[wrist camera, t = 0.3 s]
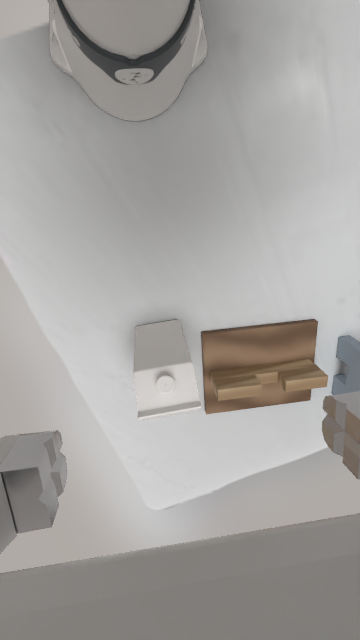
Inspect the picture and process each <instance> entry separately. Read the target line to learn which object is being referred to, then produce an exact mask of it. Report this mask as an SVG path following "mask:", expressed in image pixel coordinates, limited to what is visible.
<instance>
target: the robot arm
mask: <svg viewBox="0 0 360 640" xmlns="http://www.w3.org/2000/svg"><path fill="white" fill-rule="evenodd" d="M48 2H49V26H50V54H51V57H52V59H53V62H54V63H55V64H56V65H57V66H58V67H59V68H60V69H61V70H62V71H64V72H65V73H67V74H68V75H70V76H71V77H73V78H75V80H76V81H77V82H78V83H79V84H80V85H81V87H82V88H83V89H84V91H85V92H86V94H87V95H88V96H89V97H90V99H91V100H92V101H93V102H94V103H95V104H96V105H97V106H99V107H100V108H101V109H102V110H104V111H105V112H107V113H108V114H110V115H112V116H114V117H117V118H120V119H123V120H128V121H142V120H147V119H151V118H153V117H155V116H157V115H159V114H161V113H162V112H164V111H165V110H166V109H168V108H169V107H170V106H171V105H172V103H173V102H174V101H175V100H176V98H177V97H178V95H179V94H180V92H181V90H182V88H183V86H184V84H185V81H186V79H187V78H188V76H189V75H190V73H192V72H193V71H194V70H195V69H196V68H197V67H198V66H199V65H200V64H201V63H202V62H203V61H204V59H205V58H206V55H207V49H208V47H207V40H206V35H205V29H204V24H203V19H202V13H201V8H200V3H199V0H48ZM323 410H324V411H325V412H326V413H327V415H326V417H325V418H324V420H323V421H322V432H323V436H324V440H325V442H326V443H327V445H328V447H329V448H330V449H331V450H332V451H333V452H334V453H336V454H338V455H340V456H342V457H343V464H344V465H345V466H346V467H347V468H348V469H349V470H350V471H351V472H352V474H353V475H354V476H355V477H356V478H357V479H360V391H357V392H351V393H344V394H338V395H331V396H325V399H324V401H323ZM61 446H62V438H61V434H60V432H59V431H57V430H56V431H46V432H37V433H28V434H18V435H11V436H5V437H2V438H0V554H1V552H2V551H3V550H4V549H5V548H6V547H7V546H8V545H9V544H10V543H11V541H12V540H13V539H14V538H15V537H16V536H17V533H22V532H28V531H33V530H39V529H44V528H50V527H52V525H53V522H54V519H55V516H56V513H57V509H58V506H59V503H58V498H57V497H58V496H59V495H60V494H62V492H63V491H64V488H65V485H66V478H67V463H66V458H65V456H64V455H63V454H62V453H61V452H60V448H61ZM0 640H360V513H359V514H353V515H347V516H341V517H335V518H329V519H323V520H317V521H311V522H305V523H299V524H293V525H287V526H281V527H275V528H269V529H263V530H257V531H251V532H245V533H239V534H234V535H227V536H221V537H215V538H209V539H204V540H197V541H191V542H186V543H179V544H174V545H167V546H161V547H156V548H150V549H144V550H137V551H131V552H126V553H119V554H113V555H107V556H101V557H95V558H90V559H83V560H77V561H71V562H66V563H59V564H54V565H48V566H41V567H35V568H29V569H23V570H18V571H11V572H5V573H0Z"/></svg>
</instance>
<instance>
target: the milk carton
mask: <svg viewBox="0 0 360 640" xmlns="http://www.w3.org/2000/svg"><path fill="white" fill-rule="evenodd" d="M133 376H134V384H135V392H136V400H137V408H138V419H143V420H149V419H154V418H160V417H165V416H171V415H176V414H181V413H187V412H192V411H198V410H199V408H201V403H200V399H199V394H198V389H197V384H196V378H195V373H194V368H193V363H192V360H191V357H190V354H189V351H188V347H187V344H186V341H185V338H184V335H183V332H182V329H181V326H180V322H179V320H171V321H165V322H158V323H152V324H146V325H140V326H136V332H135V351H134V369H133Z"/></svg>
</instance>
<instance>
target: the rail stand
mask: <svg viewBox="0 0 360 640" xmlns="http://www.w3.org/2000/svg"><path fill="white" fill-rule="evenodd" d="M317 325H318V321H316V320H315V319H311V320H302V321H293V322H284V323H275V324H266V325H257V326H248V327H239V328H230V329H221V330H213V331H204V332H201V338H202V358H203V378H204V398H205V411H206V414H211V413H219V412H226V411H234V410H241V409H249V408H256V407H263V406H271V405H278V404H286V403H293V402H301V401H308V400H310V398H311V389H313V388H321V387H327V381H328V376H327V375H326V374H325V373H324V372H323V371H322V370H321V369H320V368H319V367H318V366H316V365H315V364H314V356H315V346H316V336H317Z"/></svg>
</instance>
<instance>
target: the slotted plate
mask: <svg viewBox="0 0 360 640" xmlns="http://www.w3.org/2000/svg"><path fill="white" fill-rule="evenodd" d="M336 357H337V358H339V359H340V360H341V361H343V362H344V363H345V364H346V365H348V370H347V376H346V375H344V374H341V375H334V379H333V387H332V394H333V395H338V394H344V393H351V392H357V391H360V342H359V341H357V340H355V339H354V338H352V337H350V336H342V337H339V339H338V347H337V355H336Z"/></svg>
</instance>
